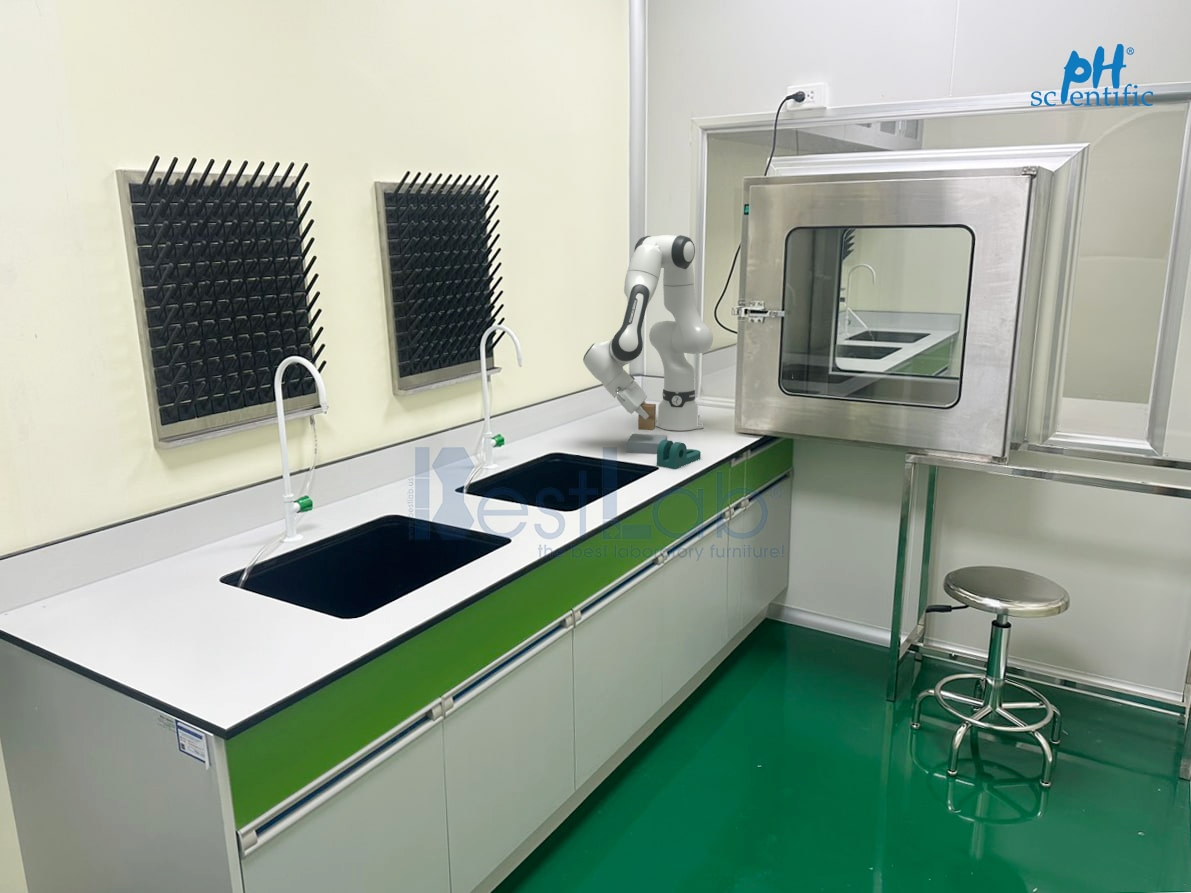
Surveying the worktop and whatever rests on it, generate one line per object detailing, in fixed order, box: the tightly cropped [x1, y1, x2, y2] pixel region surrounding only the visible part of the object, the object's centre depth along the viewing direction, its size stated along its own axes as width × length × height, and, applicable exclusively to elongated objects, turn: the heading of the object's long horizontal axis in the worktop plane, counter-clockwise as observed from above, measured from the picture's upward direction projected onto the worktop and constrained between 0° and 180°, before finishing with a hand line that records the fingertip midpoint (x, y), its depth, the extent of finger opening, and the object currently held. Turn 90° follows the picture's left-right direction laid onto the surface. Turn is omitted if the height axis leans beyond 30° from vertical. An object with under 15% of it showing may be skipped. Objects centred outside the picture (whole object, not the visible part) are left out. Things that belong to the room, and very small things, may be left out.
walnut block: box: [637, 402, 657, 431], centre depth 288 cm, size 5×5×8 cm
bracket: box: [656, 439, 702, 470], centre depth 275 cm, size 18×7×8 cm, turn 143°
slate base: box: [625, 433, 668, 455], centre depth 291 cm, size 12×12×4 cm
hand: (649, 415), depth 288 cm, fingers closed on walnut block, 5 cm apart
